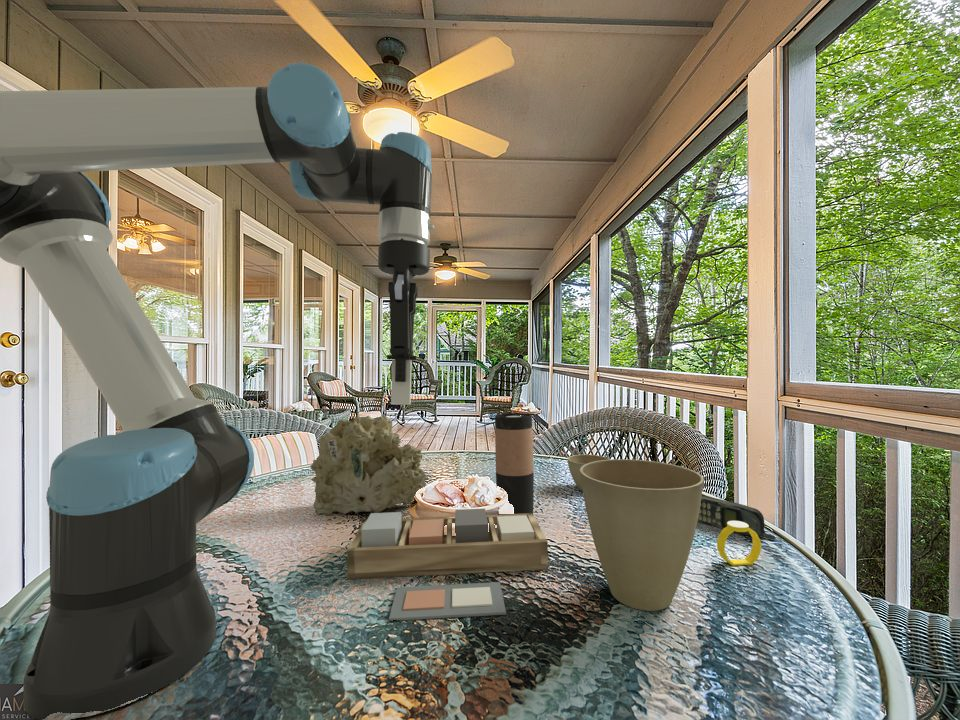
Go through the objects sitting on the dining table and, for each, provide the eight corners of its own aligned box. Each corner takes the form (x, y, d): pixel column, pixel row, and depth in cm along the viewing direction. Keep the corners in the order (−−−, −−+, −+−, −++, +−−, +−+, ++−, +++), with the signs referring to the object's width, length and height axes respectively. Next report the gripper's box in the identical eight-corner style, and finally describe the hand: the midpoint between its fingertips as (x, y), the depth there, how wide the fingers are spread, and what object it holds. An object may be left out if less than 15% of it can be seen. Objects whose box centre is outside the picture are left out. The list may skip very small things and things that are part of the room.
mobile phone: (679, 493, 81) (768, 513, 68) (687, 490, 82) (775, 509, 70) (681, 519, 80) (770, 543, 68) (689, 516, 82) (777, 539, 70)
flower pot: (566, 493, 97) (565, 462, 97) (569, 481, 107) (569, 453, 107) (611, 496, 94) (610, 464, 94) (610, 484, 104) (610, 455, 104)
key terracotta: (442, 555, 63) (442, 535, 63) (409, 557, 63) (408, 537, 63) (443, 536, 70) (443, 518, 70) (413, 538, 70) (413, 520, 70)
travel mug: (503, 523, 80) (501, 418, 80) (491, 510, 87) (489, 413, 87) (540, 518, 82) (538, 416, 82) (526, 506, 89) (524, 412, 89)
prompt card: (506, 614, 50) (505, 610, 50) (388, 621, 50) (388, 616, 50) (499, 584, 57) (499, 580, 57) (397, 589, 57) (397, 585, 57)
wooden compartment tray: (548, 569, 61) (547, 541, 61) (347, 579, 60) (347, 551, 60) (533, 535, 73) (532, 513, 73) (365, 543, 72) (365, 520, 72)
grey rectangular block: (488, 544, 63) (488, 524, 63) (455, 545, 63) (455, 525, 63) (485, 526, 70) (485, 508, 70) (455, 527, 70) (455, 509, 70)
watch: (727, 571, 60) (723, 530, 60) (715, 562, 63) (711, 522, 63) (766, 565, 61) (762, 525, 61) (753, 557, 64) (749, 518, 64)
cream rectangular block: (534, 551, 64) (534, 531, 64) (502, 552, 64) (501, 533, 64) (526, 533, 71) (526, 515, 71) (497, 534, 70) (497, 516, 71)
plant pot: (628, 643, 45) (624, 494, 45) (562, 577, 59) (560, 464, 59) (737, 617, 49) (733, 480, 49) (651, 561, 63) (649, 455, 63)
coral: (433, 502, 93) (431, 412, 93) (425, 519, 83) (423, 418, 83) (323, 502, 94) (321, 414, 94) (302, 518, 84) (300, 419, 85)
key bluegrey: (395, 548, 63) (395, 528, 63) (361, 550, 62) (361, 529, 62) (401, 530, 70) (401, 512, 70) (371, 531, 69) (370, 513, 69)
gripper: (427, 232, 56) (423, 408, 55) (431, 257, 69) (428, 401, 68) (370, 229, 55) (366, 408, 55) (385, 255, 68) (382, 400, 68)
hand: (400, 404), depth 62 cm, fingers closed
